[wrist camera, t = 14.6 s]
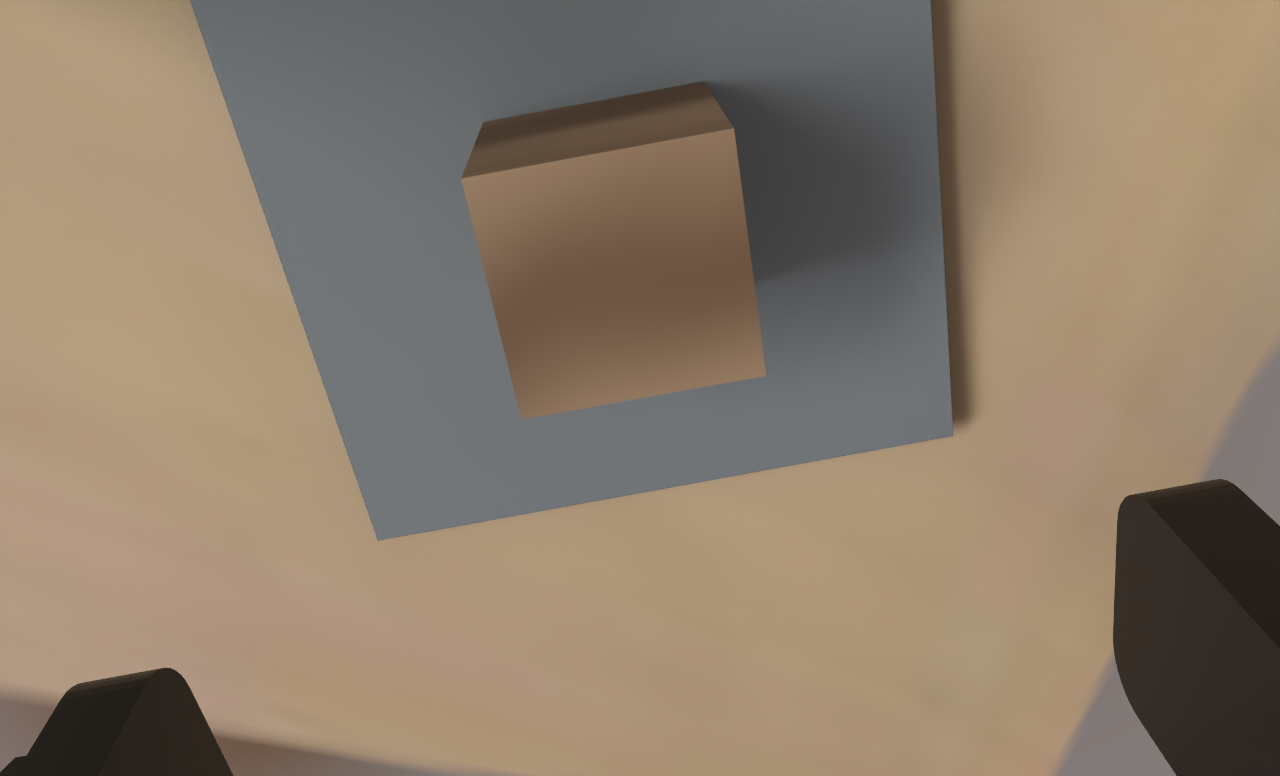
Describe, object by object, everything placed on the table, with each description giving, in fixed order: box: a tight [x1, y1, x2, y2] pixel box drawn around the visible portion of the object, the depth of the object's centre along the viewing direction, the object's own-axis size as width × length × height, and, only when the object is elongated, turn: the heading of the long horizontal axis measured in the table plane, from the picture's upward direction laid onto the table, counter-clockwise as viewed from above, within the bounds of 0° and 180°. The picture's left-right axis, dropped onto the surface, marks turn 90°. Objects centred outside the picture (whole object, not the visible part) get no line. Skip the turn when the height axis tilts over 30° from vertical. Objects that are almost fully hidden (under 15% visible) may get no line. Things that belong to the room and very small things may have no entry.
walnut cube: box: [461, 81, 766, 419], centre depth 20 cm, size 4×4×4 cm
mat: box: [190, 0, 953, 541], centre depth 22 cm, size 14×14×1 cm
